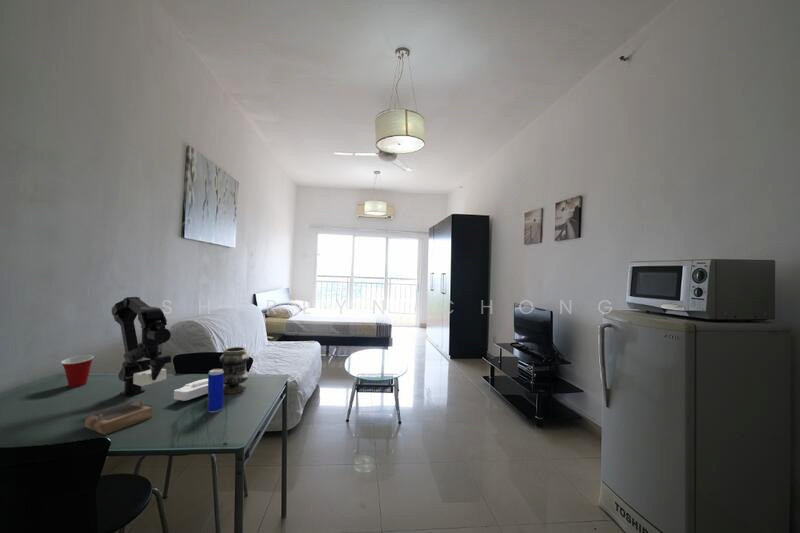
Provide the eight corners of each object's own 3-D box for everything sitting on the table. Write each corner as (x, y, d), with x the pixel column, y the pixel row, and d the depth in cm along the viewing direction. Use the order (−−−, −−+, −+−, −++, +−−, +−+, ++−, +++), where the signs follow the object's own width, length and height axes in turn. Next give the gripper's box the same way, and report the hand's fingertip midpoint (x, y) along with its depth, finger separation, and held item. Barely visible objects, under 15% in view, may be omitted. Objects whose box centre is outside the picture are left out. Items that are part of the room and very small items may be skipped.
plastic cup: (53, 387, 148) (54, 360, 148) (82, 379, 159) (83, 354, 159) (71, 390, 145) (71, 362, 145) (99, 382, 156) (100, 356, 156)
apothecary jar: (245, 393, 146) (246, 351, 146) (215, 395, 143) (215, 352, 143) (250, 384, 158) (251, 345, 158) (222, 385, 155) (223, 346, 155)
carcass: (84, 426, 114) (85, 410, 114) (132, 411, 127) (132, 396, 127) (104, 434, 109) (104, 418, 109) (151, 417, 122) (152, 402, 122)
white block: (133, 383, 134) (133, 373, 134) (157, 377, 142) (157, 367, 142) (141, 386, 131) (142, 375, 131) (165, 379, 140) (166, 369, 140)
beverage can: (211, 407, 131) (212, 368, 131) (225, 407, 132) (226, 368, 132) (204, 413, 126) (205, 372, 126) (219, 412, 127) (220, 372, 127)
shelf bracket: (211, 383, 160) (233, 386, 156) (160, 399, 136) (184, 403, 133) (212, 371, 160) (234, 374, 157) (161, 385, 137) (185, 389, 133)
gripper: (113, 341, 133) (112, 381, 133) (142, 346, 125) (141, 389, 125) (144, 336, 143) (144, 373, 143) (173, 341, 135) (172, 380, 135)
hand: (149, 378), depth 136 cm, fingers closed on white block, 5 cm apart
